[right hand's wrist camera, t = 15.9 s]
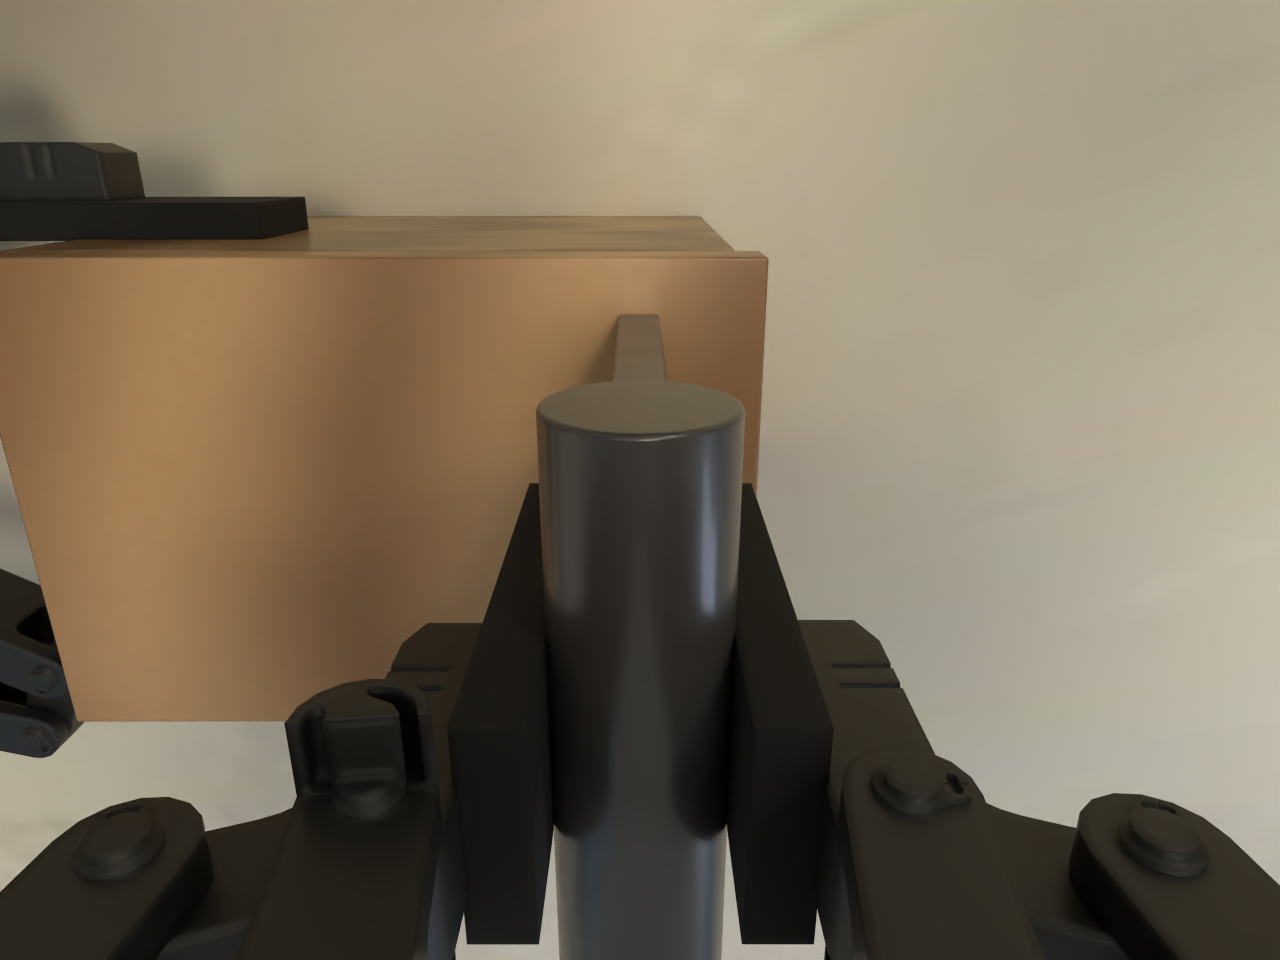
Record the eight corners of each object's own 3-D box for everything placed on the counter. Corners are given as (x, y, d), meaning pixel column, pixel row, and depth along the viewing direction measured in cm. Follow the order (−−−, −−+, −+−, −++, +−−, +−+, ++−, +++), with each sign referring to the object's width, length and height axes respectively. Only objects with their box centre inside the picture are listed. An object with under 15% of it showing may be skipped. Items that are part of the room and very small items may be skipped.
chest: (701, 216, 25) (738, 250, 16) (694, 518, 28) (721, 690, 19) (230, 216, 25) (-5, 250, 16) (278, 518, 28) (107, 691, 19)
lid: (760, 251, 16) (888, 348, 8) (739, 691, 19) (814, 1079, 11) (-6, 251, 16) (-674, 349, 8) (105, 692, 19) (-281, 1084, 11)
